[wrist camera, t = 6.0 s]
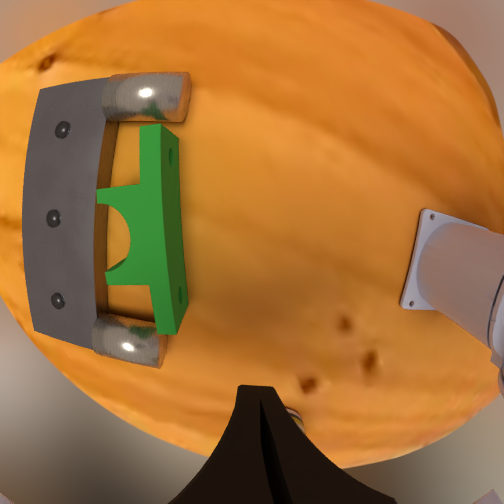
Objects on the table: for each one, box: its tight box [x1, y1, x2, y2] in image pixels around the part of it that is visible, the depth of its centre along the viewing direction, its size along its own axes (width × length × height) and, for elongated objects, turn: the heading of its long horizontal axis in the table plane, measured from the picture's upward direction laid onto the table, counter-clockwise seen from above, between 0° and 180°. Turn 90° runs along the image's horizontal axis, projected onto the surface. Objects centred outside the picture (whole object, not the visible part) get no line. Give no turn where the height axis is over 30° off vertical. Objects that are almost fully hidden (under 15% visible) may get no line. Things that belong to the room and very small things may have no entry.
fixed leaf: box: [22, 72, 191, 369], centre depth 15 cm, size 12×19×3 cm, turn 172°
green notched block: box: [96, 124, 189, 335], centre depth 15 cm, size 11×4×5 cm, turn 2°
